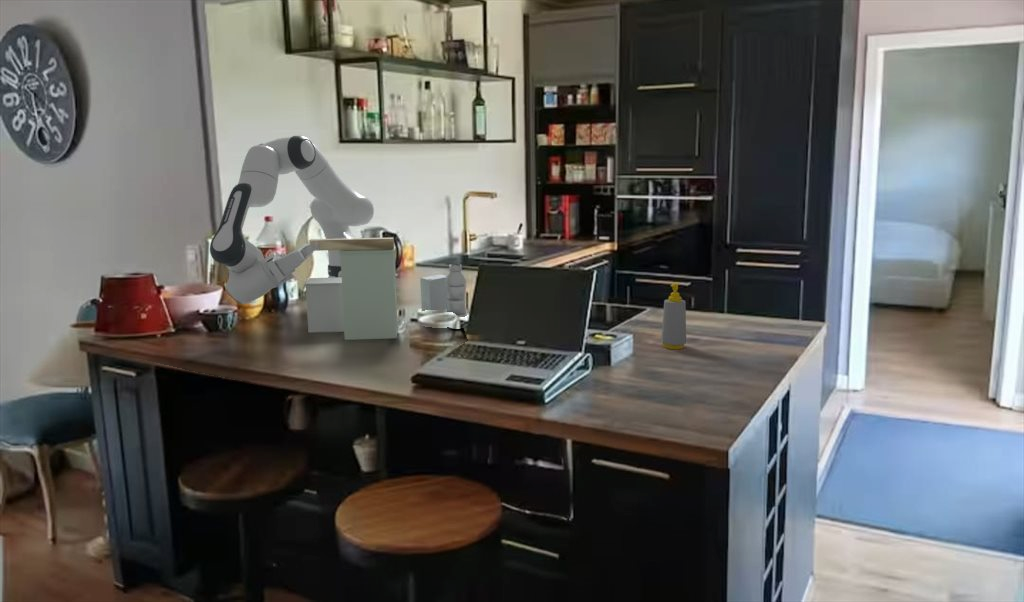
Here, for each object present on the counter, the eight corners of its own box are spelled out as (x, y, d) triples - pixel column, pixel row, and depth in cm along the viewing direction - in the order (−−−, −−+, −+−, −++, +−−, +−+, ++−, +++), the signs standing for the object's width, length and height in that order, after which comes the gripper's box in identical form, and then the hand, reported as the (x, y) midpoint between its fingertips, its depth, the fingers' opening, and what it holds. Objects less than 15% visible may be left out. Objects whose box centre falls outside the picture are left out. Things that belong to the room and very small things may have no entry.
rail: (311, 249, 234) (310, 239, 233) (394, 247, 236) (393, 237, 235) (309, 250, 231) (309, 240, 230) (393, 248, 233) (393, 238, 232)
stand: (346, 332, 243) (342, 247, 238) (398, 330, 244) (395, 246, 239) (343, 340, 233) (339, 251, 228) (397, 338, 235) (394, 250, 230)
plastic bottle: (467, 331, 242) (465, 266, 238) (444, 331, 242) (443, 266, 239) (468, 326, 249) (467, 263, 245) (446, 327, 249) (445, 263, 245)
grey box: (312, 325, 253) (309, 278, 250) (352, 324, 254) (350, 277, 251) (307, 332, 243) (304, 283, 240) (349, 331, 244) (346, 282, 241)
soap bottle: (657, 348, 221) (659, 284, 217) (665, 342, 227) (666, 280, 223) (682, 350, 217) (684, 286, 214) (689, 345, 223) (691, 282, 220)
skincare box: (442, 318, 261) (441, 273, 258) (453, 321, 256) (452, 276, 253) (420, 322, 255) (419, 276, 252) (431, 325, 251) (429, 279, 248)
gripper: (291, 271, 243) (330, 247, 243) (279, 282, 223) (321, 257, 223) (279, 253, 242) (318, 230, 241) (266, 263, 222) (308, 237, 221)
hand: (319, 243), depth 232 cm, fingers open, 5 cm apart
